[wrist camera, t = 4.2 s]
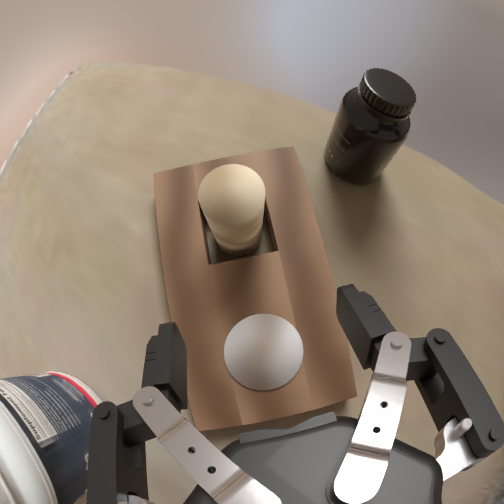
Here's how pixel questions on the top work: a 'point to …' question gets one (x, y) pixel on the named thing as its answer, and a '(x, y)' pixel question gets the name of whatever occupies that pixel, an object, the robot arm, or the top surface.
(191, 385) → the walnut board
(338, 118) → the supplement bottle
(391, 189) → the top surface
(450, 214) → the top surface
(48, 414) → the supplement tub
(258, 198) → the birch peg
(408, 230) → the top surface
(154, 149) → the top surface
